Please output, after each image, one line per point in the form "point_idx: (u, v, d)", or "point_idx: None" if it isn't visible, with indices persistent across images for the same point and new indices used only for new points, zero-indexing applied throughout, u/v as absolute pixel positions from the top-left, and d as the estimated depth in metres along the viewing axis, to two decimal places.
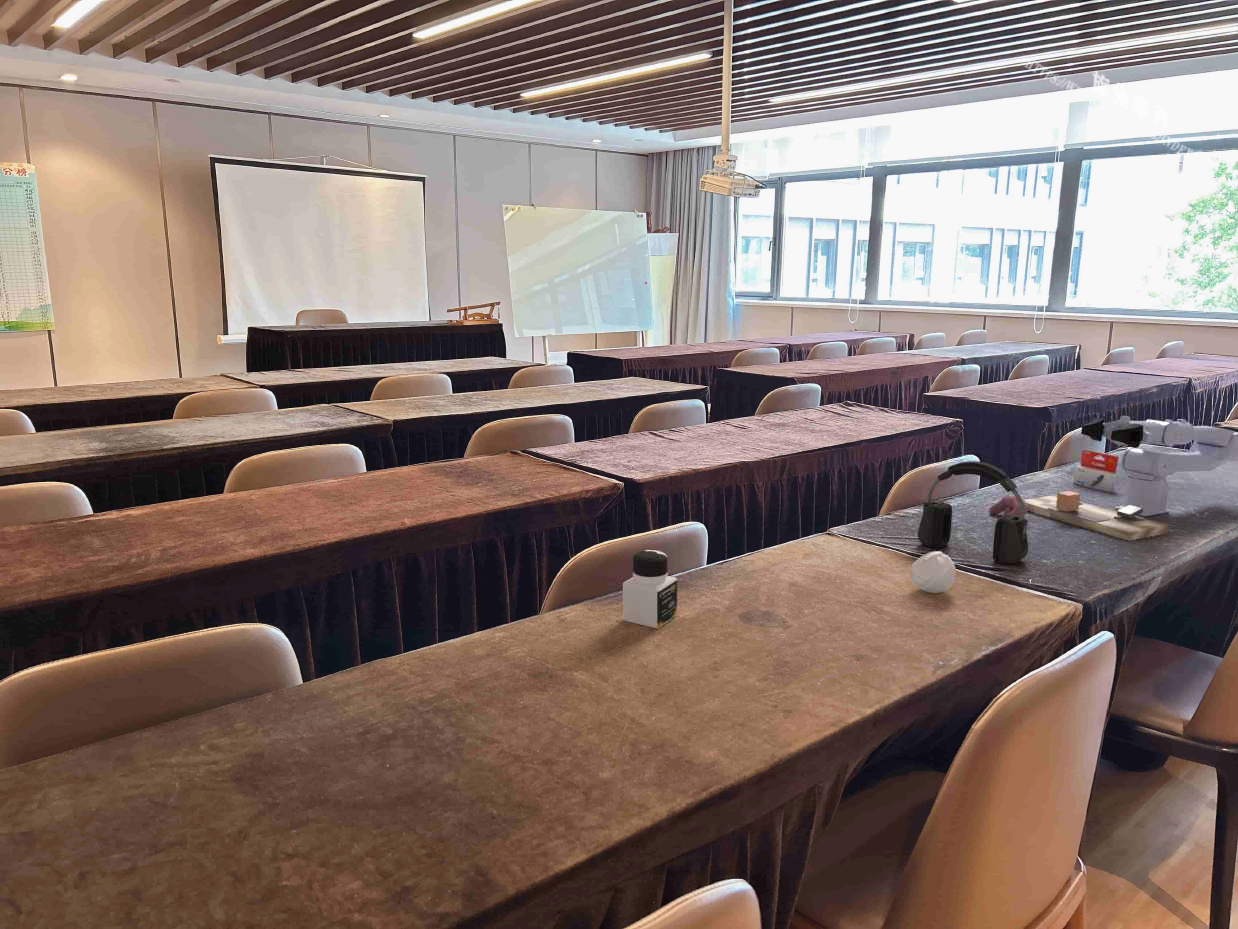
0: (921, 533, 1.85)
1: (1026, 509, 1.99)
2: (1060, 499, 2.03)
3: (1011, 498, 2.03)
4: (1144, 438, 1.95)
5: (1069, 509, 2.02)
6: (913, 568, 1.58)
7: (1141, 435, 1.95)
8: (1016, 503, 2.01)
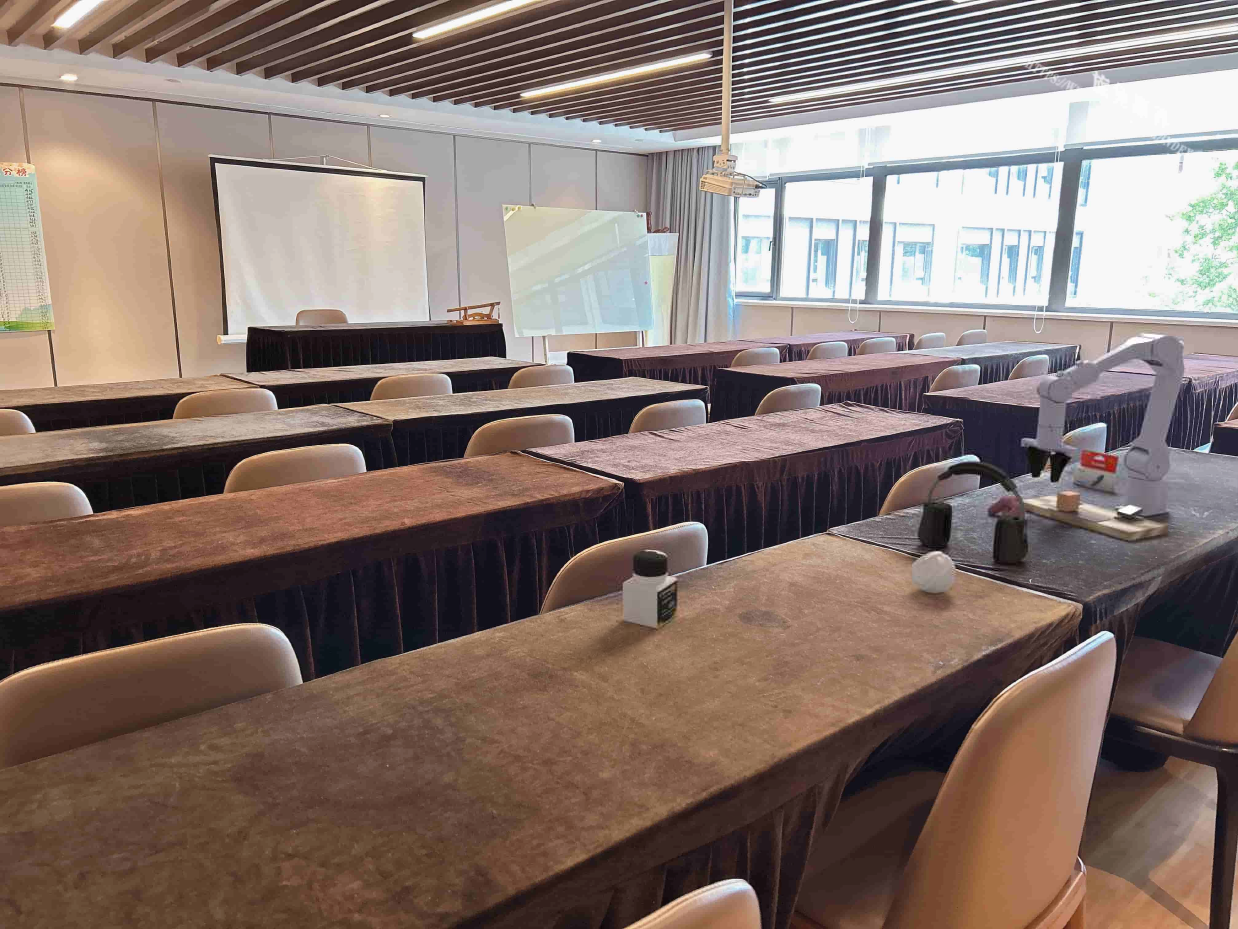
0: (921, 533, 1.85)
1: None
2: (1060, 499, 2.03)
3: (1009, 498, 2.03)
4: (1072, 455, 2.01)
5: (1069, 509, 2.02)
6: (913, 568, 1.58)
7: (1064, 456, 2.03)
8: (1014, 503, 2.01)
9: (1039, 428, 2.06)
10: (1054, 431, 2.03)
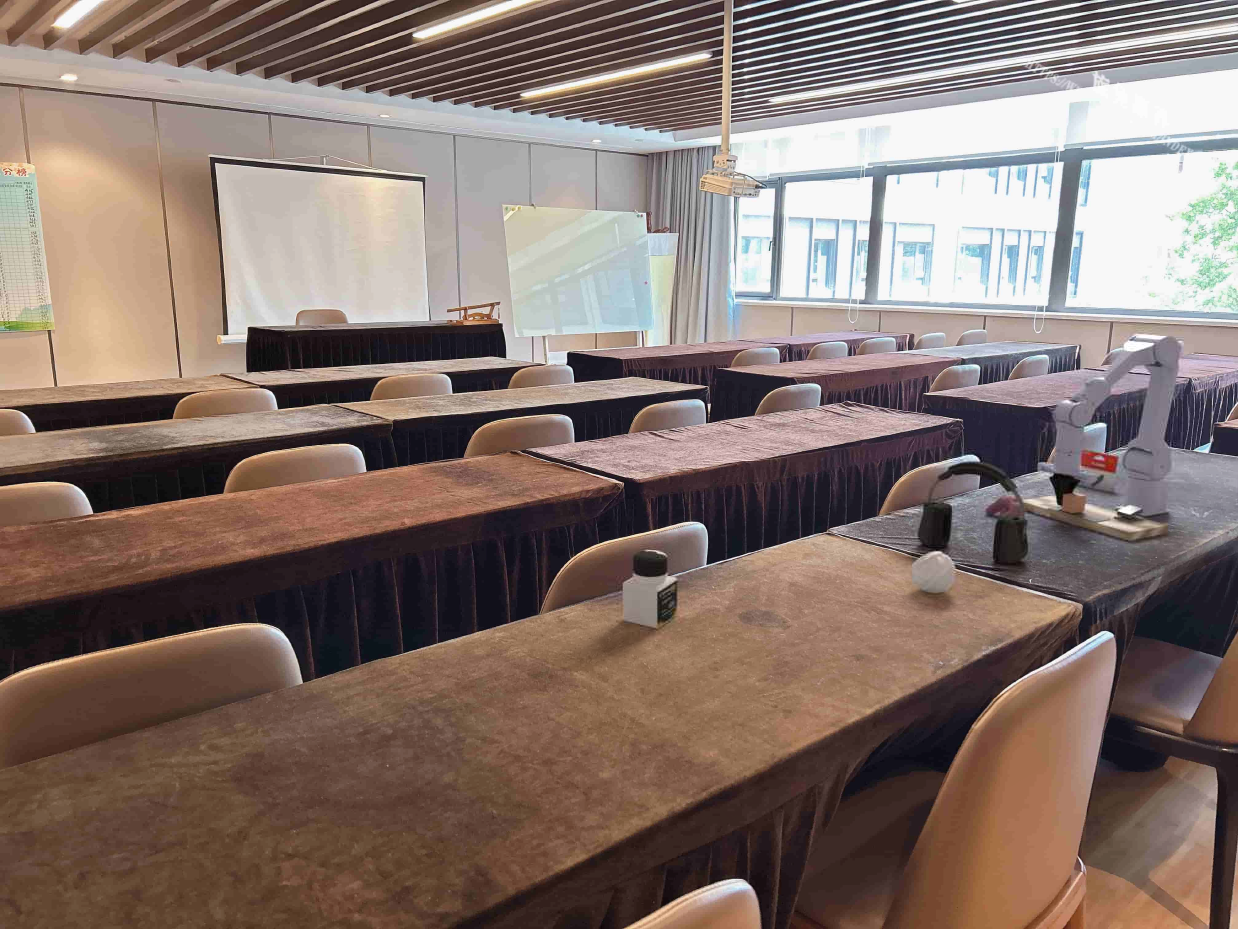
0: (921, 534, 1.85)
1: None
2: (1066, 501, 2.01)
3: (1007, 498, 2.03)
4: None
5: (1075, 511, 2.00)
6: (913, 568, 1.58)
7: (1073, 480, 2.01)
8: (1012, 503, 2.01)
9: (1056, 453, 2.02)
10: (1072, 456, 1.99)
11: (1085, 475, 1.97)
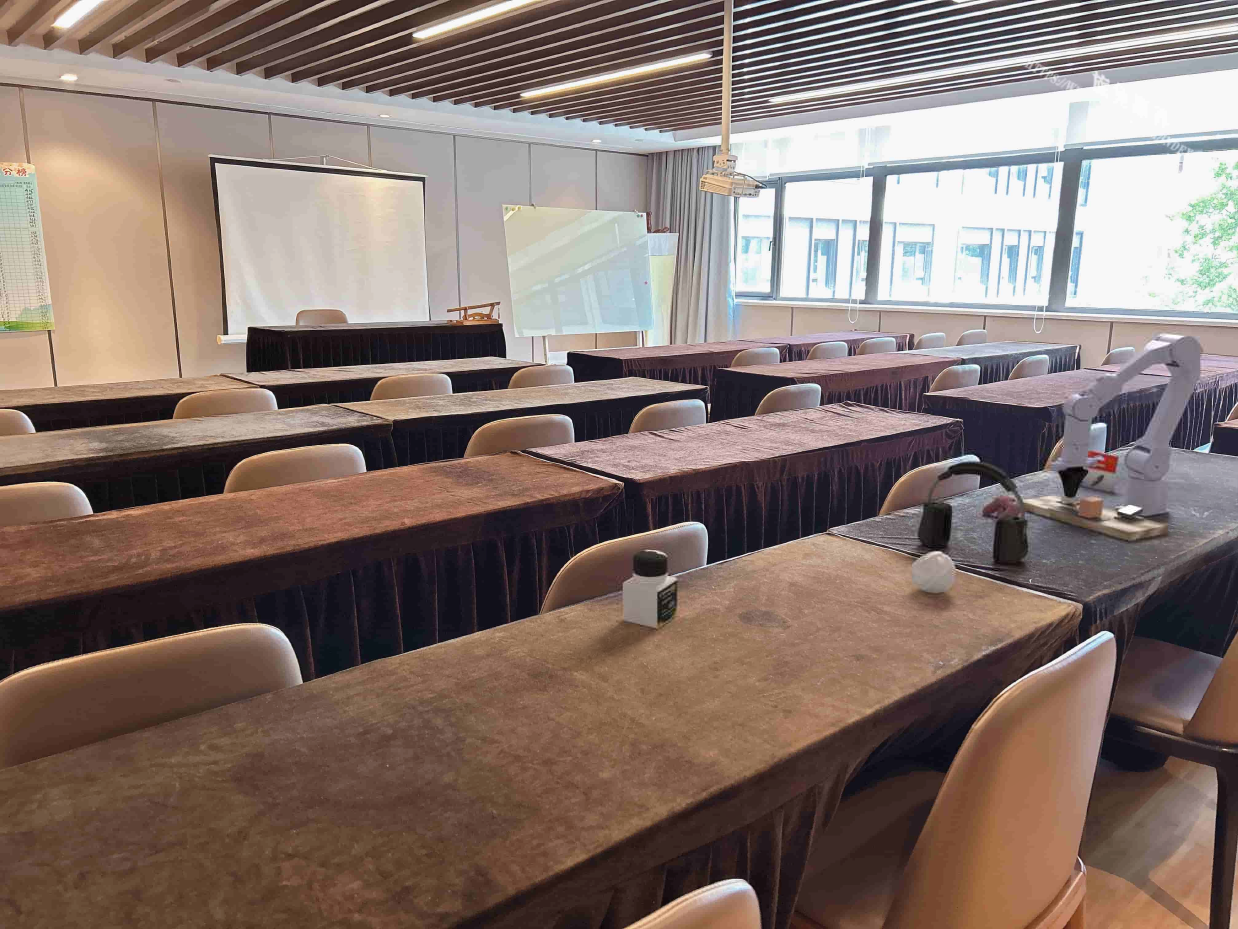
0: (921, 533, 1.85)
1: (1019, 509, 1.99)
2: (1082, 505, 1.97)
3: (1004, 498, 2.03)
4: None
5: (1092, 515, 1.96)
6: (913, 568, 1.58)
7: (1064, 470, 2.08)
8: (1009, 503, 2.01)
9: None
10: (1063, 446, 2.08)
11: None
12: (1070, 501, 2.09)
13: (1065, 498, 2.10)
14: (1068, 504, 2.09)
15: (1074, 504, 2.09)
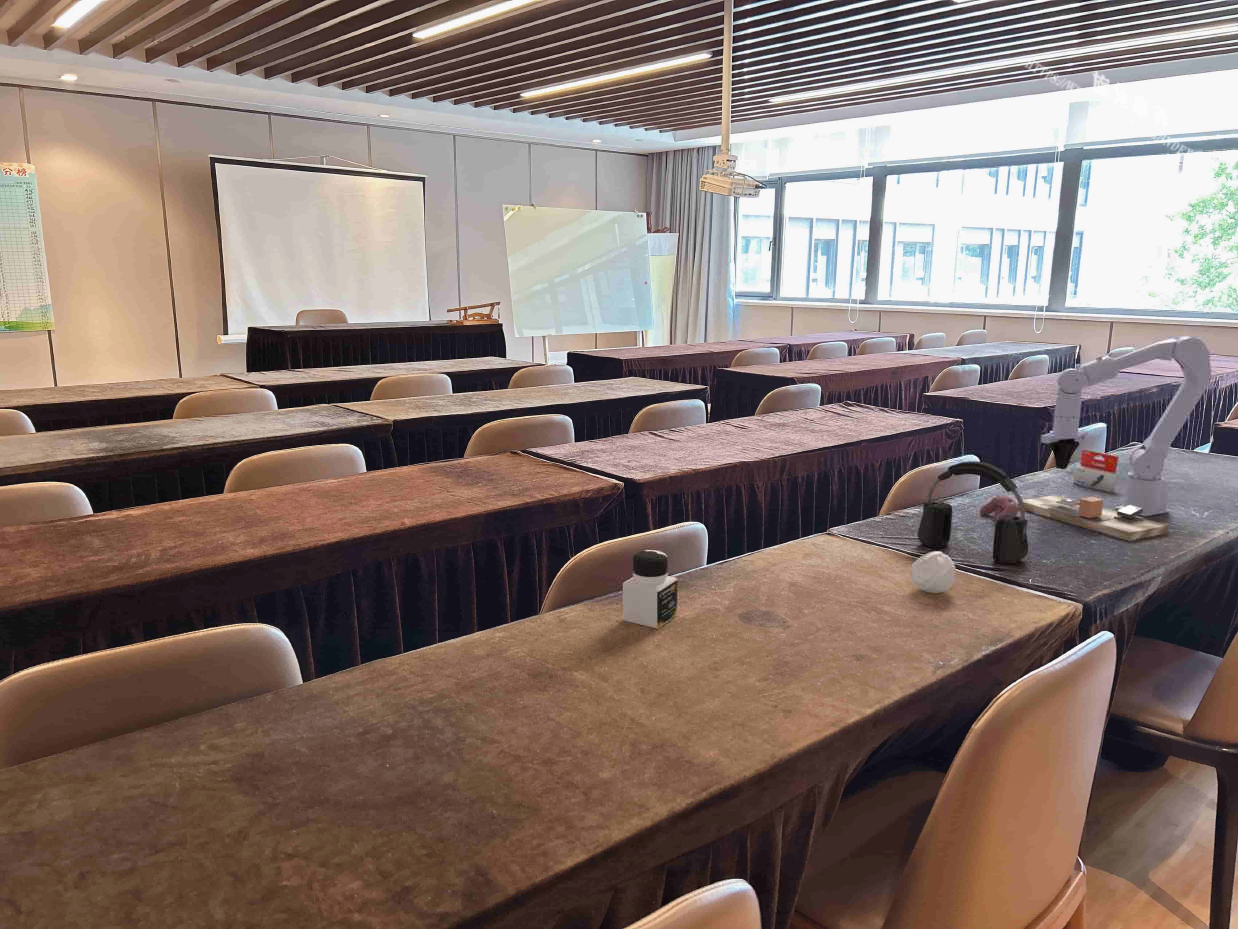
0: (921, 533, 1.85)
1: (1017, 509, 1.99)
2: (1082, 505, 1.97)
3: (1002, 498, 2.03)
4: (1046, 442, 2.12)
5: (1092, 515, 1.96)
6: (913, 568, 1.58)
7: (1055, 443, 2.14)
8: (1007, 503, 2.01)
9: None
10: (1054, 419, 2.14)
11: None
12: (1070, 504, 2.09)
13: (1065, 502, 2.10)
14: None
15: None
